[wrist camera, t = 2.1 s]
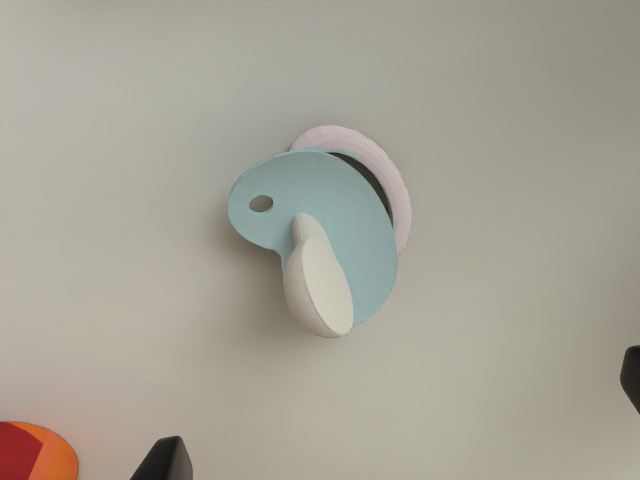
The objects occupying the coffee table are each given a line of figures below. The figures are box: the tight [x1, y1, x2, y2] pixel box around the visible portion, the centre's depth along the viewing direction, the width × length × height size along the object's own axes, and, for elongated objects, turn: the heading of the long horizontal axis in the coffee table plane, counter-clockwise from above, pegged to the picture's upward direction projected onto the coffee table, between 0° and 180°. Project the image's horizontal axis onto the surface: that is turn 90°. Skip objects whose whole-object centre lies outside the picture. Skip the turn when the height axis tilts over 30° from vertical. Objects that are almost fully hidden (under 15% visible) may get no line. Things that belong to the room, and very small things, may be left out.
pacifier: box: [227, 125, 412, 338], centre depth 16 cm, size 7×6×6 cm
